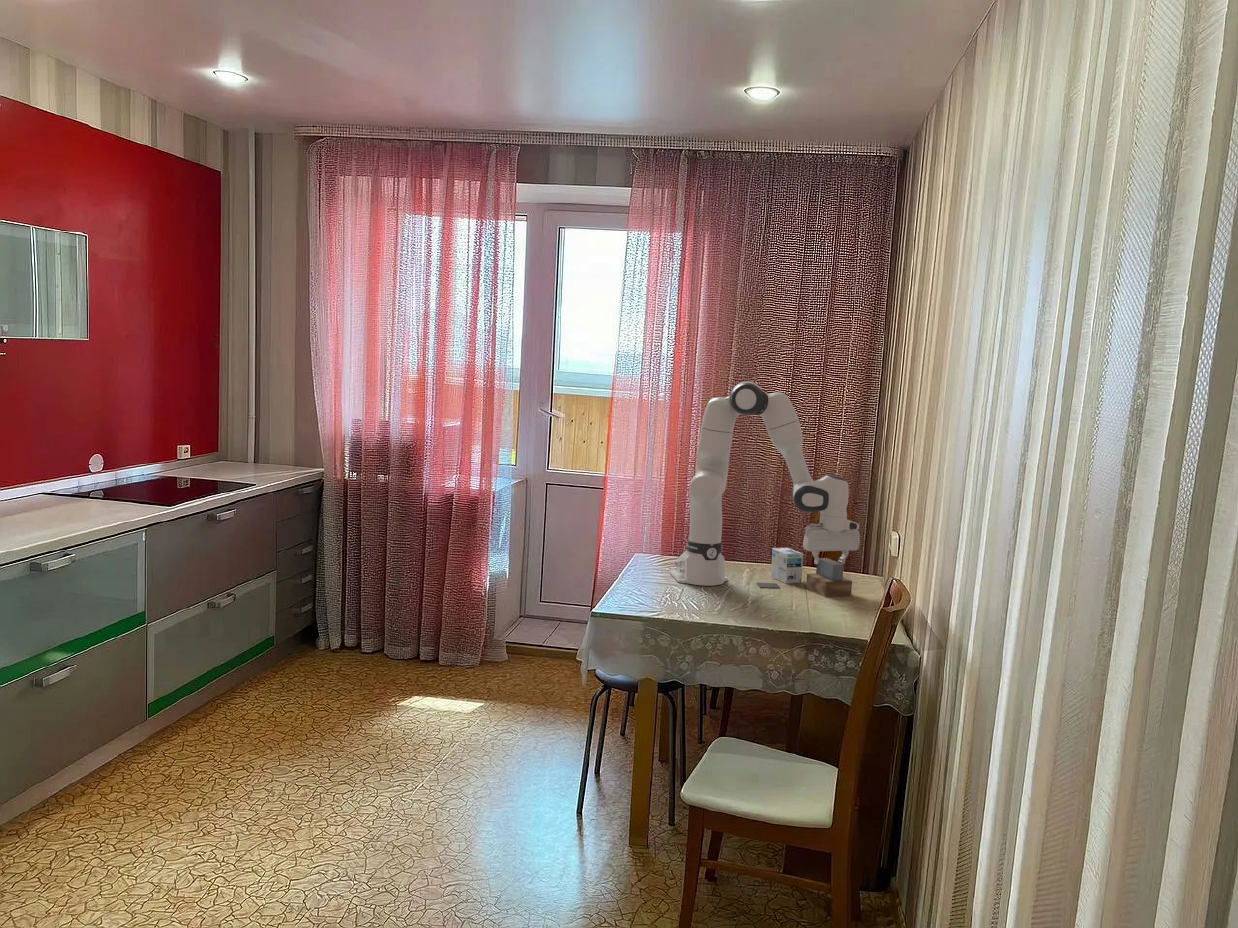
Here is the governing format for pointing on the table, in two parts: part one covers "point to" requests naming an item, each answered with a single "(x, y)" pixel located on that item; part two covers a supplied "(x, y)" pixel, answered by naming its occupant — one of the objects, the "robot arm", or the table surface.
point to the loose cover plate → (768, 585)
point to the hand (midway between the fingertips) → (829, 563)
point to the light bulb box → (787, 565)
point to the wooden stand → (828, 586)
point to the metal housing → (830, 569)
